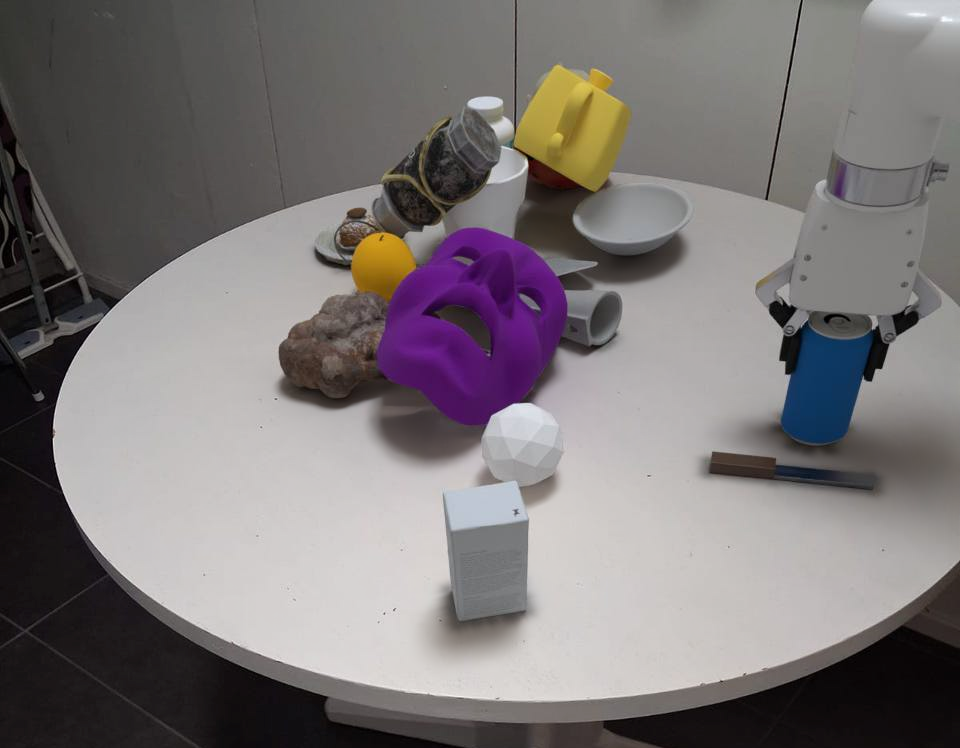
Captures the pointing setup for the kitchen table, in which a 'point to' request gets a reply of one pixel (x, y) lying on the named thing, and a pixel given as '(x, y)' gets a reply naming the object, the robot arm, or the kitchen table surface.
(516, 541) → the cosmetic box
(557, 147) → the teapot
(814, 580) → the kitchen table surface
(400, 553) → the kitchen table surface
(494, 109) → the pill bottle
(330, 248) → the pastry
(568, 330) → the grey hollow tube
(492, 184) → the cup
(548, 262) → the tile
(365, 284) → the apple
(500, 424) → the geometric ball
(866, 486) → the knife
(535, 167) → the toy
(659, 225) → the dish
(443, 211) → the lantern
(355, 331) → the rock
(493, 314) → the mask
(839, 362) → the beverage can
